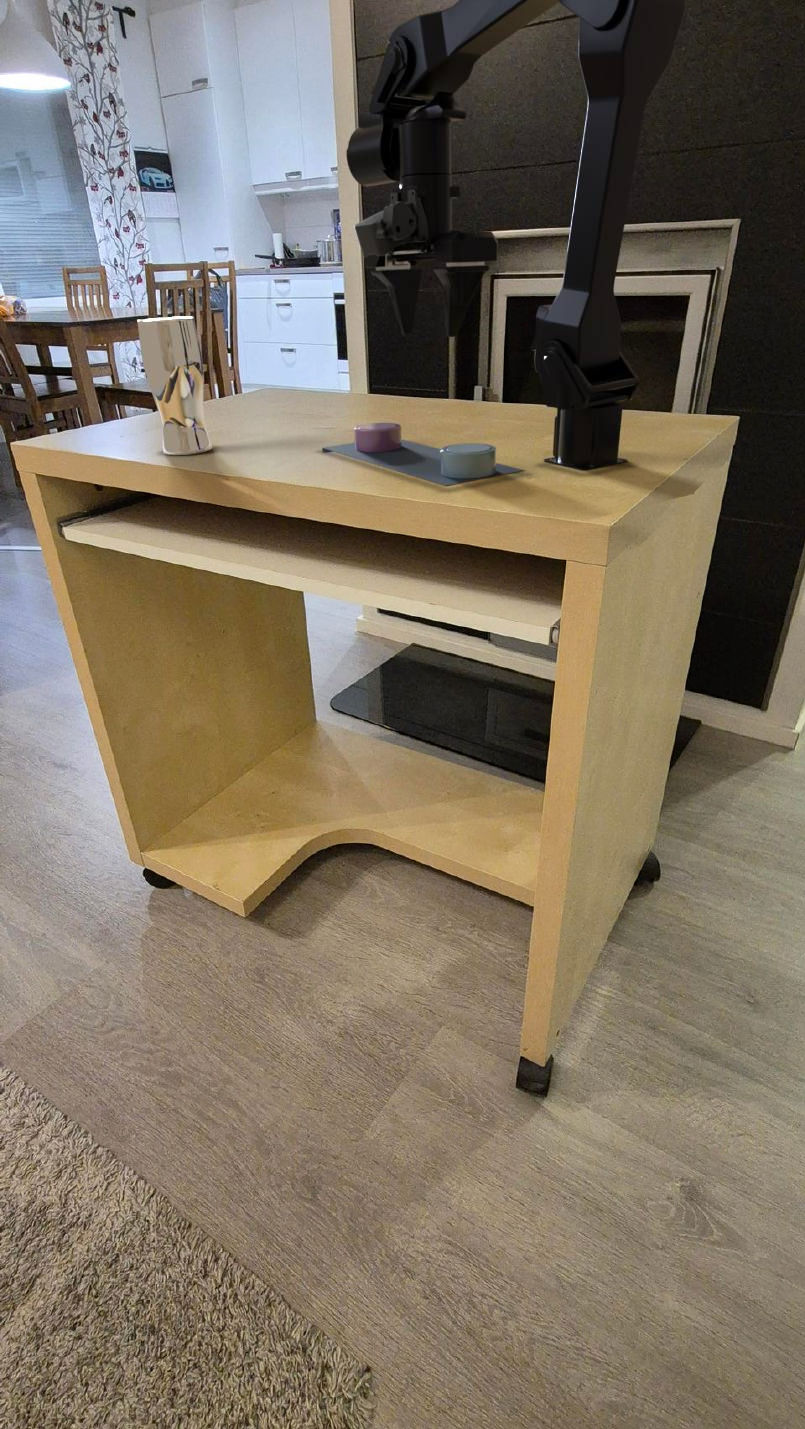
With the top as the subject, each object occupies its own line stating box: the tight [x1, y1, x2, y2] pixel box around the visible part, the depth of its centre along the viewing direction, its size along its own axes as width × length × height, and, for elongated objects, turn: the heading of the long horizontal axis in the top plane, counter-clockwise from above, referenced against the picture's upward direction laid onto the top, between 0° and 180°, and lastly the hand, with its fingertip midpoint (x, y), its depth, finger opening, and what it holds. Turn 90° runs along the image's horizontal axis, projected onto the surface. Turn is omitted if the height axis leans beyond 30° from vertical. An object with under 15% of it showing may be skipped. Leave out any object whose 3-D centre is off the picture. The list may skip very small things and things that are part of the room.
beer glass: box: [137, 316, 213, 456], centre depth 94 cm, size 7×7×15 cm
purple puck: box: [353, 422, 403, 452], centre depth 92 cm, size 6×6×2 cm
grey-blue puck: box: [440, 442, 497, 479], centre depth 79 cm, size 6×6×2 cm
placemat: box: [321, 439, 525, 487], centre depth 87 cm, size 26×10×1 cm, turn 33°
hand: (428, 335), depth 92 cm, fingers open, 9 cm apart
